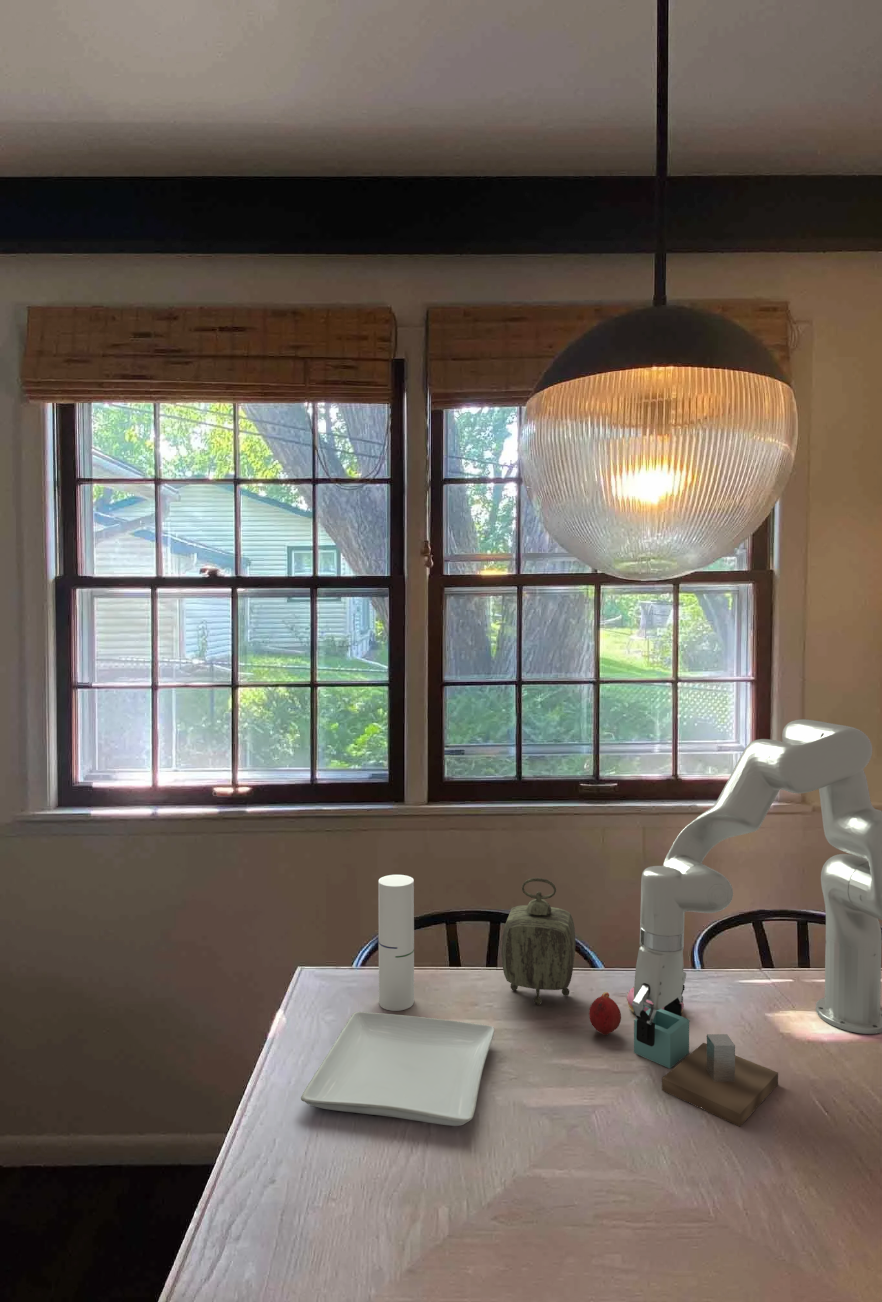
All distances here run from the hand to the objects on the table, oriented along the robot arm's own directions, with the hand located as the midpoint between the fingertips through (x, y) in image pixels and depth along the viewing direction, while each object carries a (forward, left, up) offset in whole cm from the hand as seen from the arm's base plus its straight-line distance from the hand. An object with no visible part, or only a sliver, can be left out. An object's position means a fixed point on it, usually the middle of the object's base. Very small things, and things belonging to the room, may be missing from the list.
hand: (659, 1032), depth 135 cm
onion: (+2, -10, -4) cm, 11 cm away
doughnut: (-13, -8, -4) cm, 16 cm away
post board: (+2, +12, -4) cm, 13 cm away
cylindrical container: (+21, -47, -4) cm, 52 cm away
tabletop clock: (0, -27, -4) cm, 28 cm away
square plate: (+37, -27, -4) cm, 46 cm away
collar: (0, 0, -4) cm, 4 cm away
